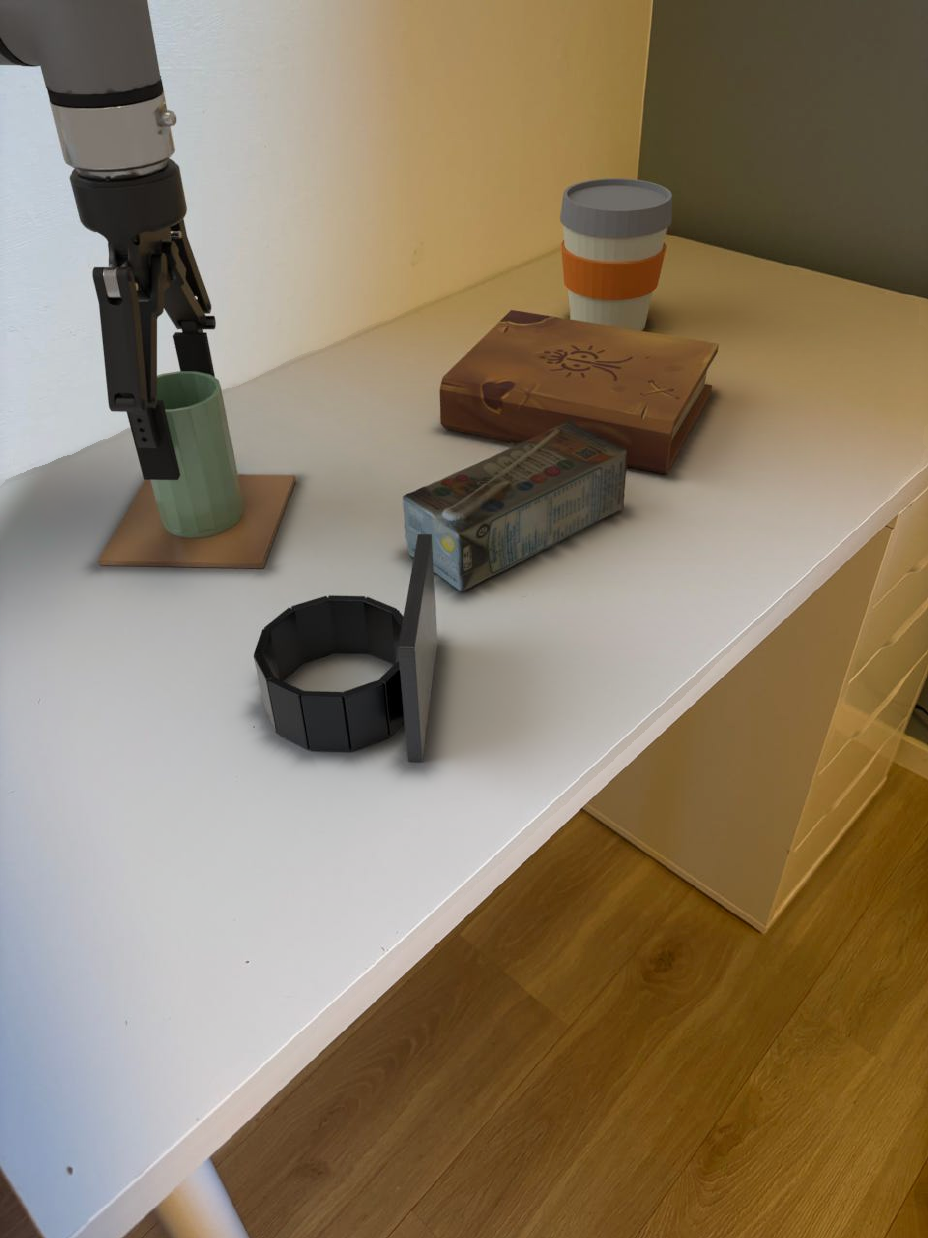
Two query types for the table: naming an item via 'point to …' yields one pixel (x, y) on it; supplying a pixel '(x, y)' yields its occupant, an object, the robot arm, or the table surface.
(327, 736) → the ring cup holder
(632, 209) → the reusable coffee cup
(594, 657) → the table surface
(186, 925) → the table surface
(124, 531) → the cork tile
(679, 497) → the table surface
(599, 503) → the beverage carton
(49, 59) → the robot arm
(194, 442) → the cup
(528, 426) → the diary
